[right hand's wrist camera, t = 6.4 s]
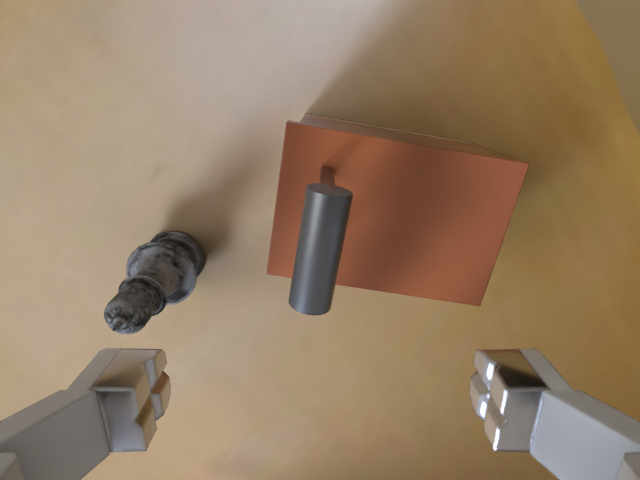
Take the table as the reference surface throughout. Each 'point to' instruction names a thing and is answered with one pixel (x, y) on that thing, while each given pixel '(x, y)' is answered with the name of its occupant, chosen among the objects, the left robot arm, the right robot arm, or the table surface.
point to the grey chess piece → (155, 281)
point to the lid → (387, 216)
